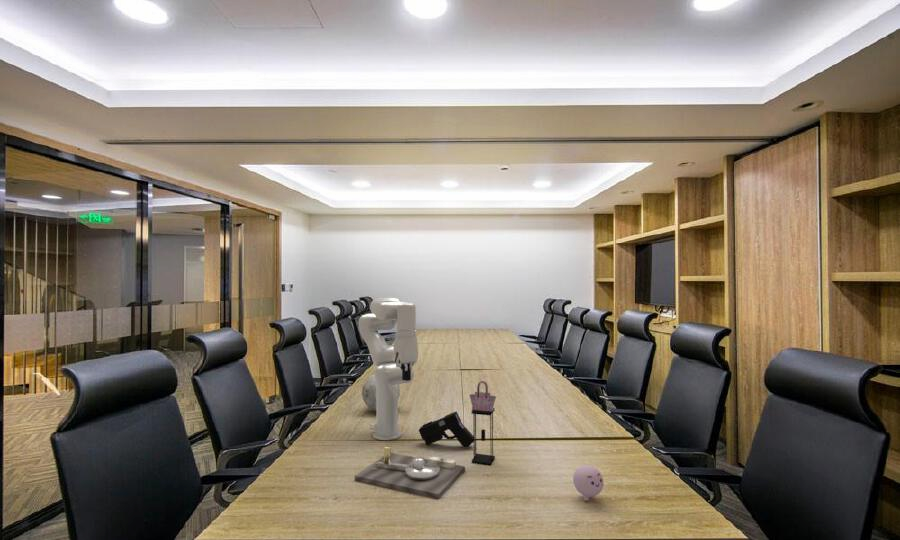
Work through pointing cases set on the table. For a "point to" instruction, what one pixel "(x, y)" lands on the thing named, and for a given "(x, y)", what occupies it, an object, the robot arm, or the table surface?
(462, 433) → the toy
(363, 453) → the table surface
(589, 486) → the toy
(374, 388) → the decorative sphere
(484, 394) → the handbag
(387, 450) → the crank handle
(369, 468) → the level board
